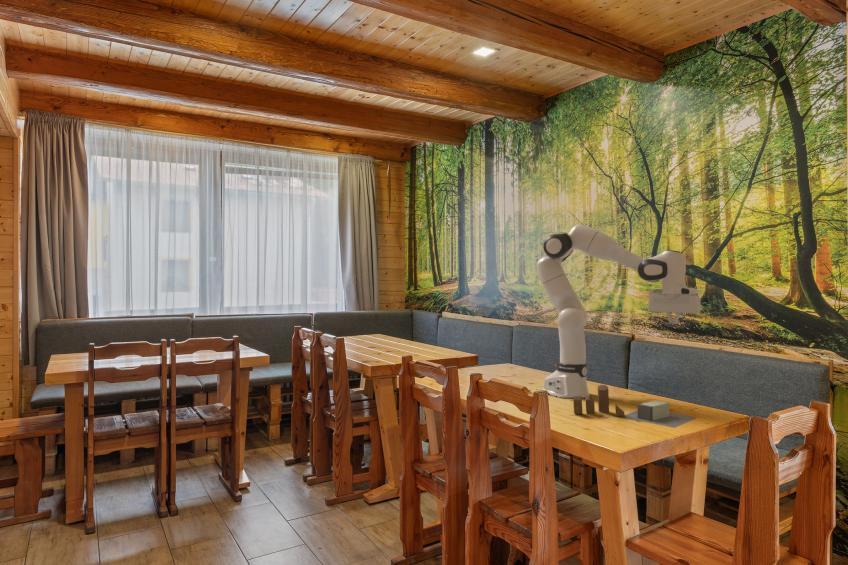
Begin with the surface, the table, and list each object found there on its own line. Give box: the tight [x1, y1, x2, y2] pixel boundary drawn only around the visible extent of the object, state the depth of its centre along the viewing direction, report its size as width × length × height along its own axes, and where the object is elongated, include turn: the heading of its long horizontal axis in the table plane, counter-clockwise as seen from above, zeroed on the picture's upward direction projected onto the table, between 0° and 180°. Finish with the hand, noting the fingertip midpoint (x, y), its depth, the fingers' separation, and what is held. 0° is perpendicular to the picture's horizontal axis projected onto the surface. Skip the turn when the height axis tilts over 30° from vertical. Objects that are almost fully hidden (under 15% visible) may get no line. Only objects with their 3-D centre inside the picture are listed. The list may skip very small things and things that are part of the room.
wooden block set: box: [572, 384, 626, 418], centre depth 208 cm, size 18×9×10 cm, turn 76°
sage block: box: [637, 399, 670, 421], centre depth 203 cm, size 5×5×12 cm
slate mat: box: [619, 409, 698, 428], centre depth 203 cm, size 20×20×1 cm
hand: (673, 323), depth 226 cm, fingers closed
